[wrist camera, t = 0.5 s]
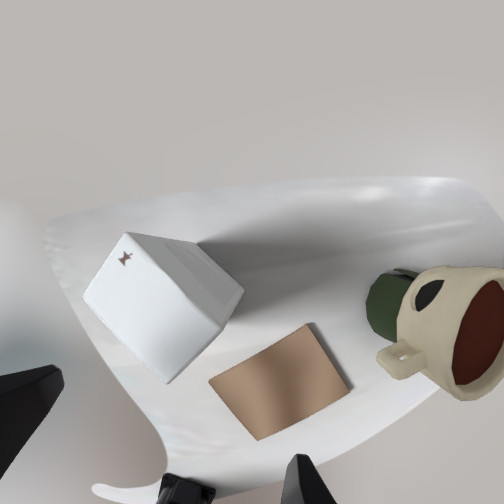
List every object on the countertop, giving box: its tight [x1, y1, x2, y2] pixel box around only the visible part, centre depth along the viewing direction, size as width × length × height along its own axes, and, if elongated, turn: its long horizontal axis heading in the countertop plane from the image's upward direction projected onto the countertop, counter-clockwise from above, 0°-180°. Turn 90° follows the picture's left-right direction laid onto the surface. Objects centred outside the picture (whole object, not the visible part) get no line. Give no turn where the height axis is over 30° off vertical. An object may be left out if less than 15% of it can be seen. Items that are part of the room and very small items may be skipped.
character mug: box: [366, 265, 504, 401], centre depth 15 cm, size 11×7×13 cm, turn 109°
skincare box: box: [83, 232, 245, 384], centre depth 17 cm, size 6×4×12 cm
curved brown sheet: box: [208, 324, 350, 441], centre depth 22 cm, size 10×8×1 cm
